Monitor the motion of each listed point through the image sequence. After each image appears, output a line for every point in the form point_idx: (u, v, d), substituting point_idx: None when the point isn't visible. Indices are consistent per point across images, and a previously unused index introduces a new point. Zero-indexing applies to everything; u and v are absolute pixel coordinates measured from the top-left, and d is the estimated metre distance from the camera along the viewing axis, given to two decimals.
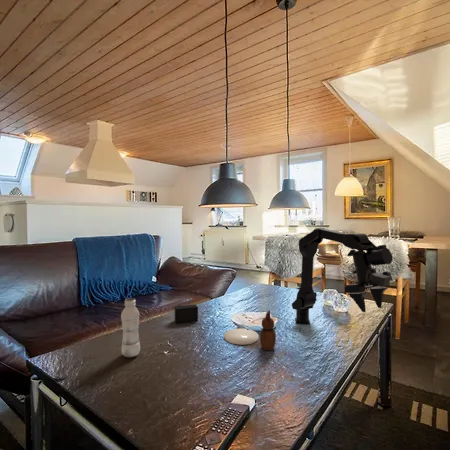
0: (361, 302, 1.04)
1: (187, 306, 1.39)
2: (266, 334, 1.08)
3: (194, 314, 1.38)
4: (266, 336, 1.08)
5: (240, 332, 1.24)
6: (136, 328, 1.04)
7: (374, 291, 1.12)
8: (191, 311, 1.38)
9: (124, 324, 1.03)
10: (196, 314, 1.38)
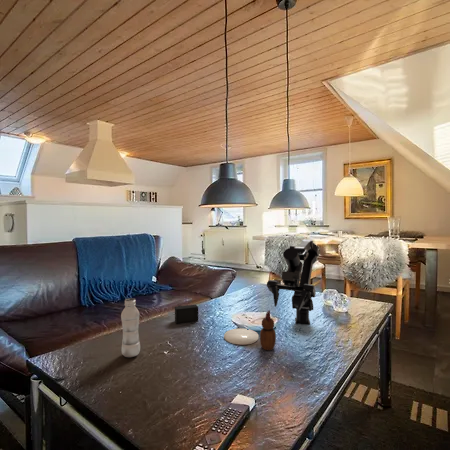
0: None
1: (187, 306, 1.39)
2: (266, 334, 1.08)
3: (194, 314, 1.38)
4: (266, 336, 1.08)
5: (240, 332, 1.24)
6: (136, 328, 1.04)
7: None
8: (192, 311, 1.38)
9: (124, 324, 1.03)
10: (196, 314, 1.38)
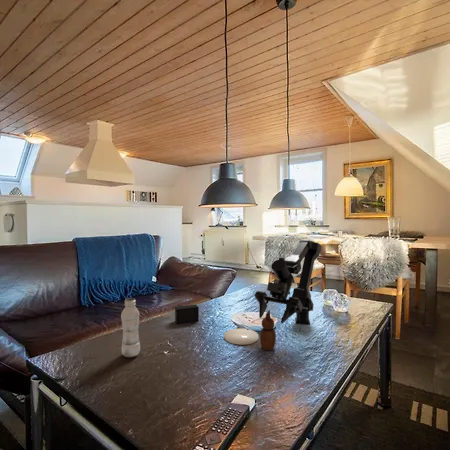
0: None
1: (188, 306, 1.39)
2: (266, 334, 1.08)
3: (195, 314, 1.38)
4: (266, 336, 1.08)
5: (240, 332, 1.24)
6: (136, 328, 1.04)
7: None
8: (192, 311, 1.37)
9: (124, 324, 1.03)
10: (197, 314, 1.38)
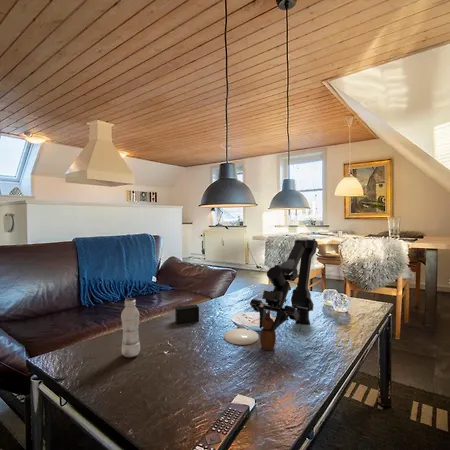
0: None
1: (188, 306, 1.39)
2: (266, 334, 1.08)
3: (195, 314, 1.38)
4: (266, 336, 1.08)
5: (240, 332, 1.24)
6: (136, 328, 1.04)
7: None
8: (192, 312, 1.37)
9: (124, 324, 1.03)
10: (197, 314, 1.38)
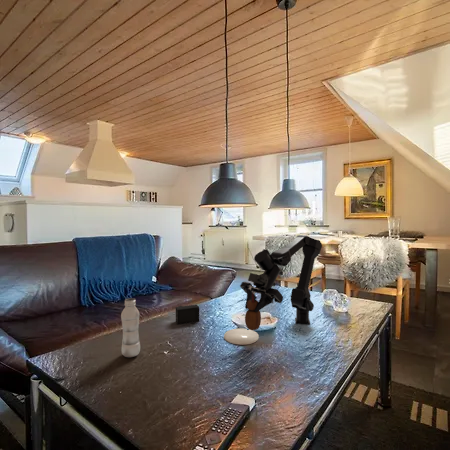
0: None
1: (188, 306, 1.38)
2: (250, 314, 1.12)
3: (196, 314, 1.38)
4: (249, 316, 1.12)
5: (240, 332, 1.24)
6: (136, 328, 1.04)
7: None
8: (193, 312, 1.37)
9: (124, 324, 1.03)
10: (197, 314, 1.38)
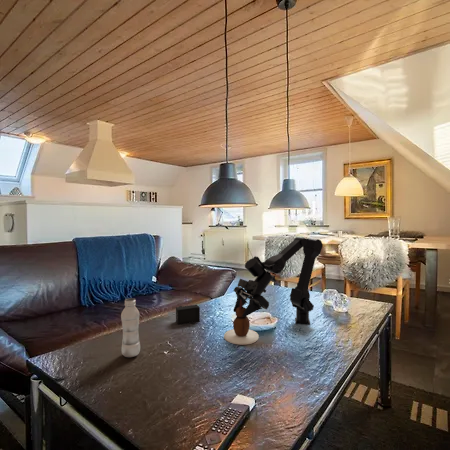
0: None
1: (189, 306, 1.38)
2: (237, 320, 1.18)
3: (196, 314, 1.38)
4: (236, 322, 1.18)
5: None
6: (136, 328, 1.04)
7: None
8: (193, 312, 1.37)
9: (124, 324, 1.03)
10: (198, 314, 1.38)
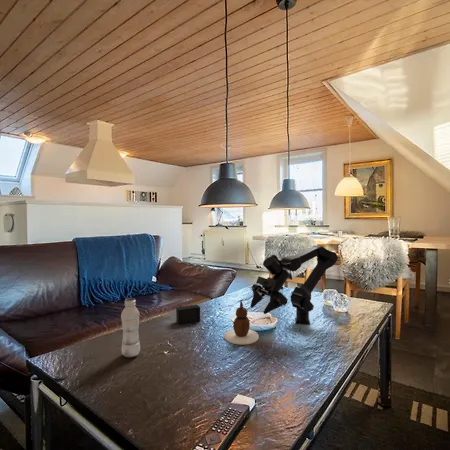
0: None
1: (189, 306, 1.38)
2: (237, 321, 1.18)
3: (196, 314, 1.38)
4: (236, 323, 1.18)
5: None
6: (136, 328, 1.04)
7: None
8: (194, 312, 1.37)
9: (124, 324, 1.03)
10: (198, 314, 1.38)
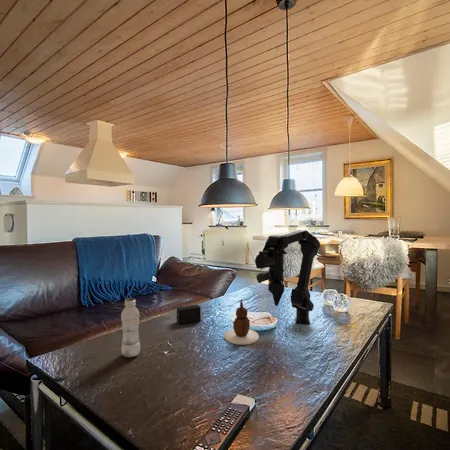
0: None
1: (189, 307, 1.38)
2: (237, 321, 1.18)
3: (197, 314, 1.38)
4: (236, 322, 1.18)
5: None
6: (136, 328, 1.04)
7: None
8: (194, 312, 1.37)
9: (124, 324, 1.03)
10: (199, 314, 1.38)
